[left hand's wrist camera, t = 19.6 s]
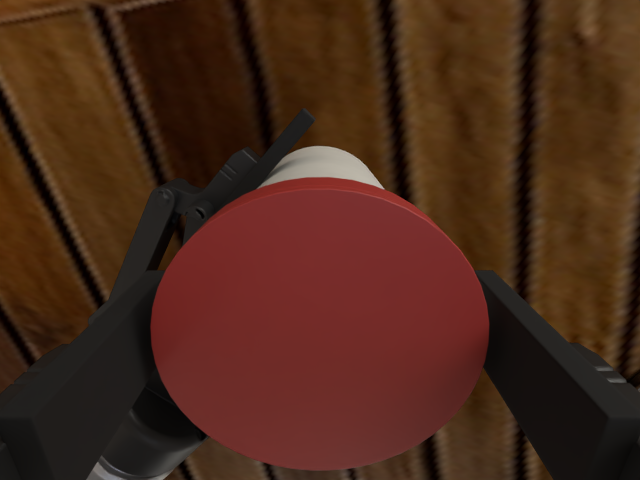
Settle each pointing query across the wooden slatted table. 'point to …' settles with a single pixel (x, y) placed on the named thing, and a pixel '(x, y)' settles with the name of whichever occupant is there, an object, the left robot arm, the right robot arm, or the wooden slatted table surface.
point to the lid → (319, 325)
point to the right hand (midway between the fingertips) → (378, 181)
